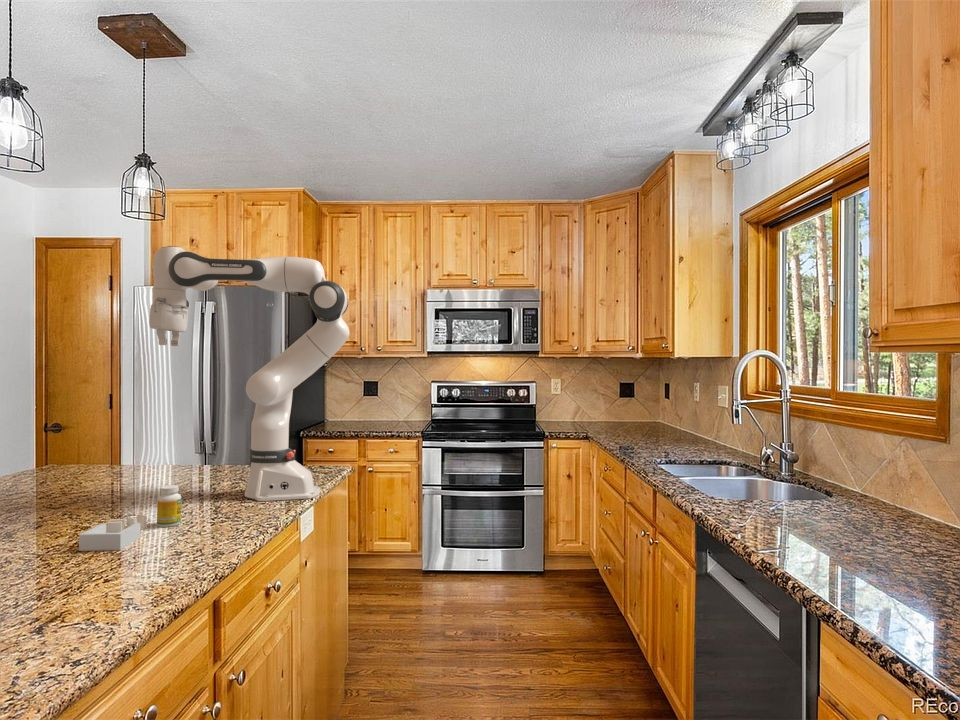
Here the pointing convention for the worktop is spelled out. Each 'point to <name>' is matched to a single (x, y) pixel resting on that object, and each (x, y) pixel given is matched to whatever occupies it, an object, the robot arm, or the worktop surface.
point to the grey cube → (115, 525)
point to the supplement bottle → (169, 506)
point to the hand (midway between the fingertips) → (168, 345)
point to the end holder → (108, 538)
